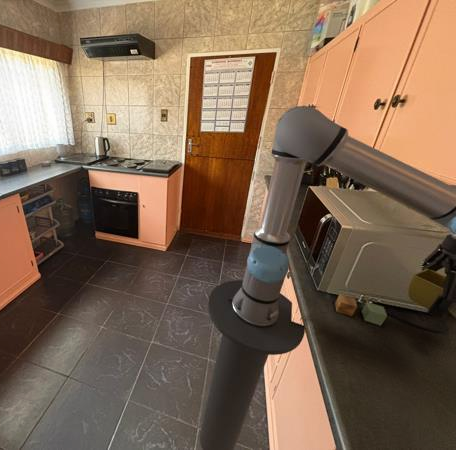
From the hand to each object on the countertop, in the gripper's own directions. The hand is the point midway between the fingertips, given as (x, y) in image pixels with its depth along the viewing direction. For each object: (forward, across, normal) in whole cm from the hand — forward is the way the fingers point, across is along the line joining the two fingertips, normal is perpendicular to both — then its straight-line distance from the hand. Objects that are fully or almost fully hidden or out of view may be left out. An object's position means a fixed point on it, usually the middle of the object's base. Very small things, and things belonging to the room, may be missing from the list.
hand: (425, 301), depth 75 cm
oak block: (+12, 0, +17) cm, 21 cm away
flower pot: (+1, 0, 0) cm, 1 cm away
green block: (+12, 0, +9) cm, 15 cm away
